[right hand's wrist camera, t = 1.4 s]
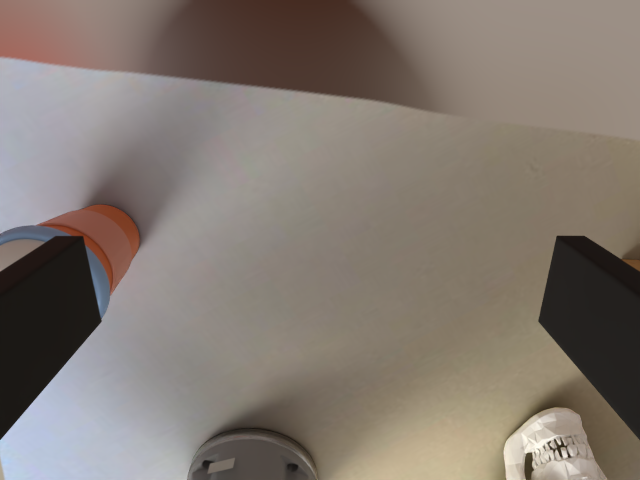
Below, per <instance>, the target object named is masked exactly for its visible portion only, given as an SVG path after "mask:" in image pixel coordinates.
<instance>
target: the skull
mask: <svg viewBox="0 0 640 480" xmlns="http://www.w3.org/2000/svg"><path fill="white" fill-rule="evenodd" d="M565 437H566V438H565ZM568 437H571V438H568ZM560 438H562V440H563V442H564V445H565V446H566V445H567V444H568V443H569V445H568V447H567V450H568V452H569V454H570V455H571V457H572V458H567V457H568V455H567V450H566V448H565V447H561V451H562V456H563V458H562V457H560V455H559V453H558V451H557V449H556V451H555V456H554V453H553V450H550V446H551V447H552V448H553V449H555V448H557V446H556V444H555V442H554V439H556V440H557V442H558V444H559V445H561V440H560ZM566 439H567V440H566ZM551 440H552V441H551ZM572 440H573V442H574V444H575V445H573V442H572ZM550 441H551V443H550V444H549V445H550V446H549V445H548V442H550ZM544 446H545V448H546V449H545V448H544ZM539 449H540V450H539ZM535 451H536V453H535ZM503 453H504V461H505V469H506V479H507V480H526V478H525V474H524V466H525V457H526V454H527V453H532V456H533V462H532V467H533V468H534V471H533V472H532V475H531V480H607V478H606V476H605V475H604V473H603V472H602V470H601V469H600V467H599V466H598V464H597V463H596V461H595V459H594V456H593V453H592V450H591V448H590V446H589V444H588V442H587V435H586V433H585V431H584V429H583V427H582V421H581V418H580V415H579V414H577V413H576V412H574V411H573V410H571V409H568V408H557V407H554V408H551V409H547V410H544V411H542V412H539V413H537V414H535V415H534V416H532V417H531V418H530V419H529V420H528V421H526V422H525V423H524V424H523V425H522V426H521V427H520V428H519V429H517V430H516V431H515V432H514V433H513V434H512V435H511V436H510V437H509V438H508V439H507V441H506V444H505V446H504V452H503ZM577 454H578V455H577ZM539 456H540V457H539ZM549 456H550V458H551V460H549ZM555 457H556V458H555Z"/></svg>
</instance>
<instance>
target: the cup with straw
mask: <svg viewBox="0 0 640 480" xmlns="http://www.w3.org/2000/svg"><path fill="white" fill-rule="evenodd" d="M55 236H83V237H84V242H85V246H86V251H87V256H88V260H89V265H90V270H91V274H92V279H93V284H94V288H95V293H96V297H97V302H98V307H99V311H100V316H101V319H102V317H103V315H104V314H105V312H106V310H107V307H108V304H109V299H110V295H111V294H112V293H113V291H114V290H115V288H116V287H117V285H118V284H119V282H120V281H121V279H122V278H123V276H124V275H125V273H126V272H127V270H128V268H129V266H130V263H131V261H132V259H133V258H134V256H135V254H136V253H137V251H138V248H139V243H140V238H139V232H138V229H137V227H136V225H135V224H134V222H133V221H132V219H131V218H130V217H129V216H128V215H127V214H125V213H124V212H123V211H121V210H119V209H117V208H115V207H112V206H109V205H92V206H89V207H86V208H84V209H81V210H76V211H71V212H68V213H65V214H63V215H60V216H58V217H55V218H53V219H50V220H48V221H45V222H43V223H40V224H38V225H36V226H22V227H16V228H13V229H10V230H7V231H5V232H3V233H1V234H0V271H2V270H3V269H5V268H6V267H8V266H9V265H11V264H13V263H14V262H16V261H17V260H19V259H20V258H22V257H23V256H25V255H27V254H28V253H30V252H31V251H33V250H34V249H36V248H37V247H39V246H41V245H42V244H44V243H45V242H47V241H48V240H50V239H51V238H53V237H55Z"/></svg>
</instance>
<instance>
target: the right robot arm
mask: <svg viewBox="0 0 640 480" xmlns="http://www.w3.org/2000/svg"><path fill="white" fill-rule="evenodd" d="M101 322H102V321H101V316H100V311H99V307H98V302H97V297H96V293H95V288H94V284H93V279H92V274H91V270H90V265H89V260H88V256H87V251H86V246H85V242H84V237H83V236H55V237H53V238H51V239H50V240H48V241H47V242H45V243H44V244H42V245H41V246H39V247H37V248H36V249H34V250H33V251H31V252H30V253H28V254H27V255H25V256H23V257H22V258H20V259H19V260H17V261H16V262H14V263H13V264H11V265H9V266H8V267H6V268H5V269H3V270H2V271H0V440H1V439H2V437H3V436H4V435H5V434H6V433H7V432H8V430H9V429H10V428H11V427H12V426H13V424H14V423H15V422H16V421H17V420H18V419H19V417H20V416H21V415H22V414H23V413H24V412H25V410H26V409H27V408H28V407H29V406H30V405H31V403H32V402H33V401H34V400H35V399H36V398H37V396H38V395H39V394H40V393H41V392H42V391H43V389H44V388H45V387H46V386H47V385H48V384H49V382H50V381H51V380H52V379H53V378H54V377H55V375H56V374H57V373H58V372H59V371H60V370H61V368H62V367H63V366H64V365H65V364H66V363H67V361H68V360H69V359H70V358H71V357H72V356H73V354H74V353H75V352H76V351H77V350H78V348H79V347H80V346H81V345H82V344H83V343H84V341H85V340H86V339H87V338H88V337H89V336H90V334H91V333H92V332H93V331H94V330H95V329H96V327H97V326H98V325H99V324H100V323H101ZM538 322H539V323H540V324H541V325H542V326H543V327H544V329H545V330H546V331H547V332H548V333H549V334H550V336H551V337H552V338H553V339H554V340H555V341H556V343H557V344H558V345H559V346H560V347H561V348H562V350H563V351H564V352H565V353H566V354H567V356H568V357H569V358H570V359H571V360H572V361H573V363H574V364H575V365H576V366H577V367H578V368H579V370H580V371H581V372H582V373H583V374H584V375H585V377H586V378H587V379H588V380H589V381H590V382H591V384H592V385H593V386H594V387H595V388H596V389H597V391H598V392H599V393H600V394H601V395H602V396H603V398H604V399H605V400H606V401H607V402H608V403H609V405H610V406H611V407H612V408H613V409H614V410H615V412H616V413H617V414H618V415H619V416H620V417H621V419H622V420H623V421H624V422H625V423H626V424H627V426H628V427H629V428H630V429H631V430H632V432H633V433H634V434H635V435H636V436H637V437H638V439H639V440H640V271H638V270H637V269H635V268H634V267H632V266H631V265H629V264H627V263H626V262H624V261H623V260H621V259H620V258H618V257H617V256H615V255H613V254H612V253H610V252H609V251H607V250H606V249H604V248H603V247H601V246H599V245H598V244H596V243H595V242H593V241H592V240H590V239H589V238H587V237H585V236H557V237H556V242H555V246H554V251H553V256H552V260H551V265H550V270H549V274H548V279H547V284H546V288H545V293H544V297H543V302H542V307H541V311H540V316H539V321H538ZM187 480H317V471H316V467H315V464H314V462H313V460H312V458H311V457H310V455H309V454H308V453H307V452H306V450H305V449H304V448H303V447H301V446H300V445H299V444H298V443H296V442H295V441H293V440H292V439H290V438H288V437H286V436H284V435H281V434H279V433H275V432H272V431H268V430H262V429H238V430H233V431H228V432H225V433H222V434H220V435H217V436H215V437H214V438H212V439H210V440H209V441H207V442H206V443H205V444H204V445H202V447H201V448H200V449H199V450H198V451H197V453H196V454H195V456H194V458H193V461H192V463H191V467H190V470H189V473H188V478H187Z"/></svg>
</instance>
